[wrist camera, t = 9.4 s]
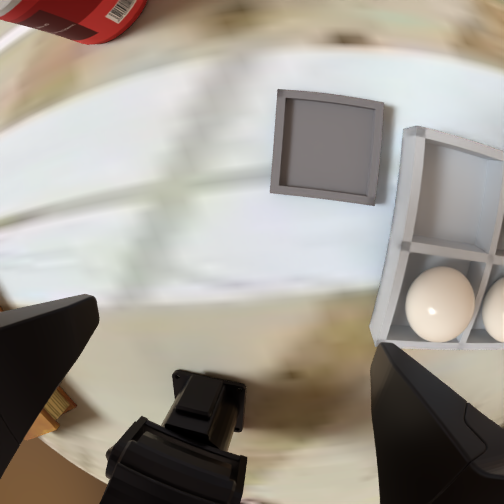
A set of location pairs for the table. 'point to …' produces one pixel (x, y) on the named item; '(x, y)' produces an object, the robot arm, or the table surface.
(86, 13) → the canned food
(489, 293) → the white egg
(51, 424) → the diary
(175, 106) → the table surface
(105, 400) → the table surface
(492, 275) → the egg tray
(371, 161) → the egg dish
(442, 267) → the white egg
